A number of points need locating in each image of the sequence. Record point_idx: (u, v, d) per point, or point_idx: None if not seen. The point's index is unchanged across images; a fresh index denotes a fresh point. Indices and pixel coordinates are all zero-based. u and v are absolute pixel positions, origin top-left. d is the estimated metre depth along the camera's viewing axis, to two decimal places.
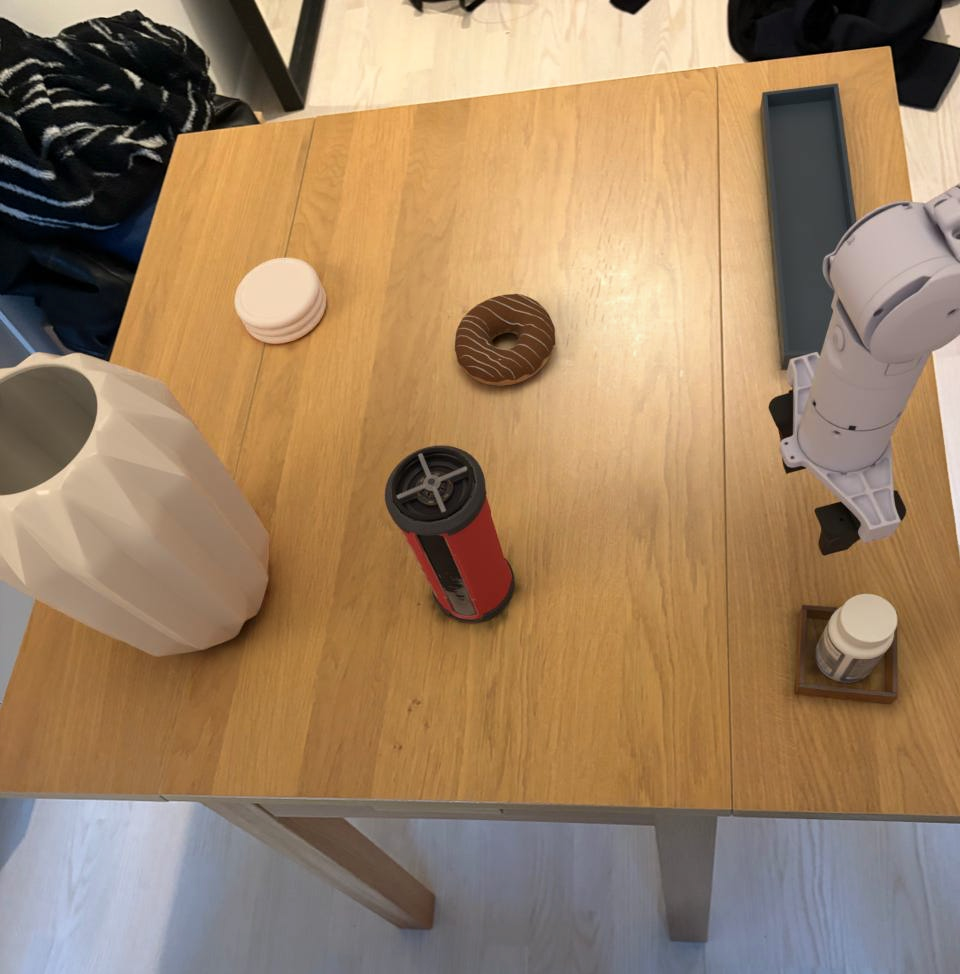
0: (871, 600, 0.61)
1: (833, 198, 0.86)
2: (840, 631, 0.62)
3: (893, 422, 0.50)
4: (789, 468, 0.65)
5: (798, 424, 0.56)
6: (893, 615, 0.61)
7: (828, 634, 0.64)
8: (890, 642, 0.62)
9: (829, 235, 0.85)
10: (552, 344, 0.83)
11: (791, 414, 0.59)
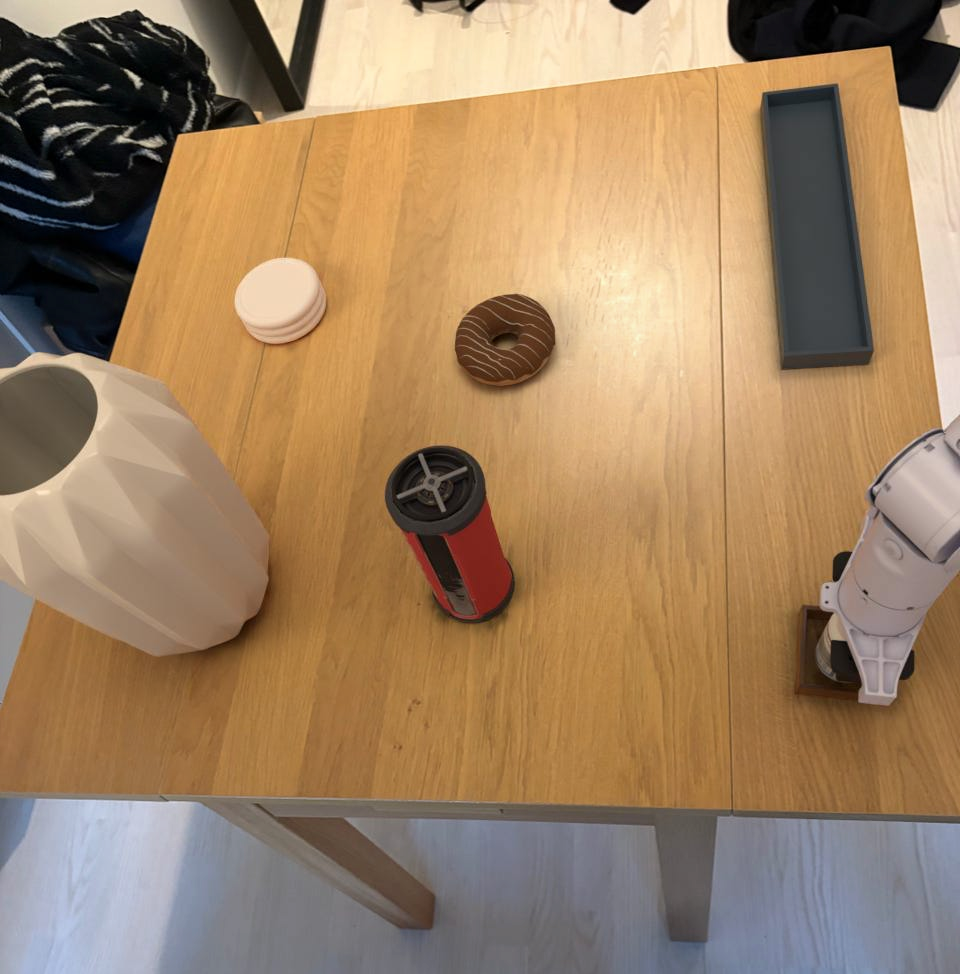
0: None
1: (833, 198, 0.86)
2: (840, 631, 0.62)
3: (918, 609, 0.53)
4: None
5: (846, 573, 0.59)
6: None
7: (828, 634, 0.64)
8: None
9: (829, 235, 0.85)
10: (552, 344, 0.83)
11: None
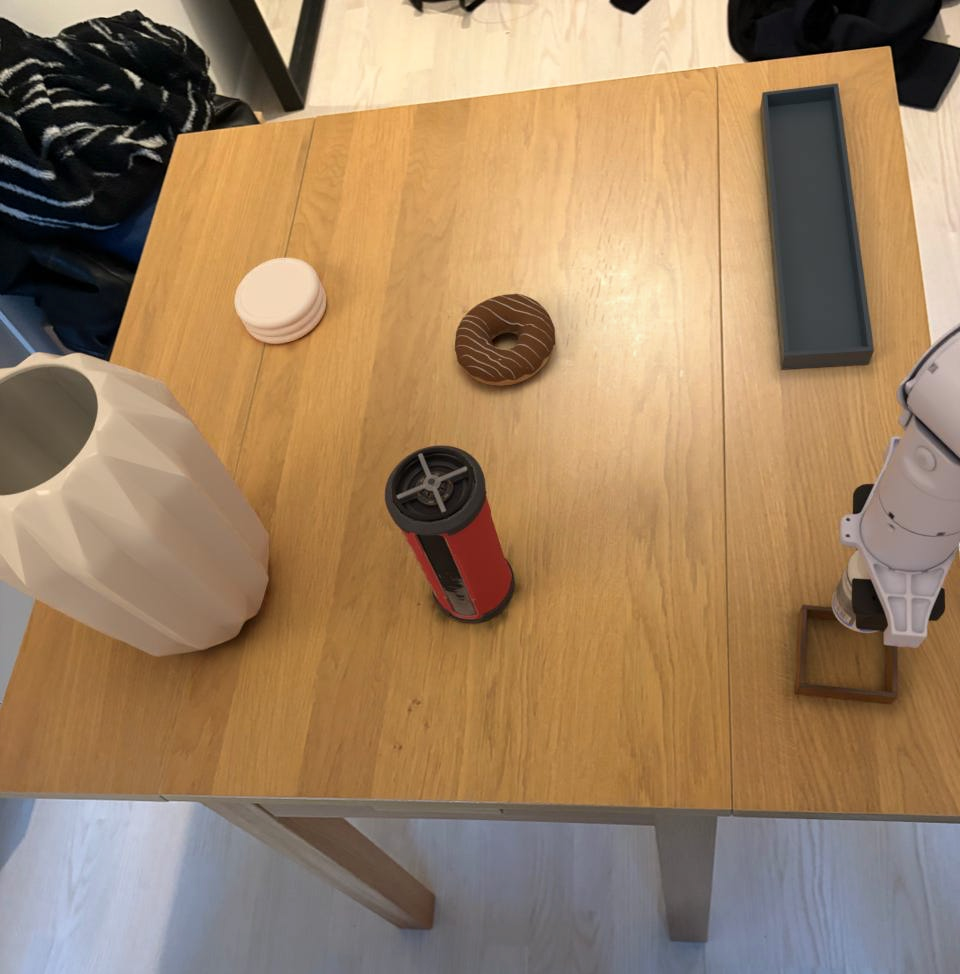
0: None
1: (833, 198, 0.86)
2: (861, 571, 0.56)
3: (952, 535, 0.47)
4: None
5: (869, 504, 0.54)
6: None
7: (847, 576, 0.58)
8: None
9: (829, 235, 0.85)
10: (552, 344, 0.83)
11: None
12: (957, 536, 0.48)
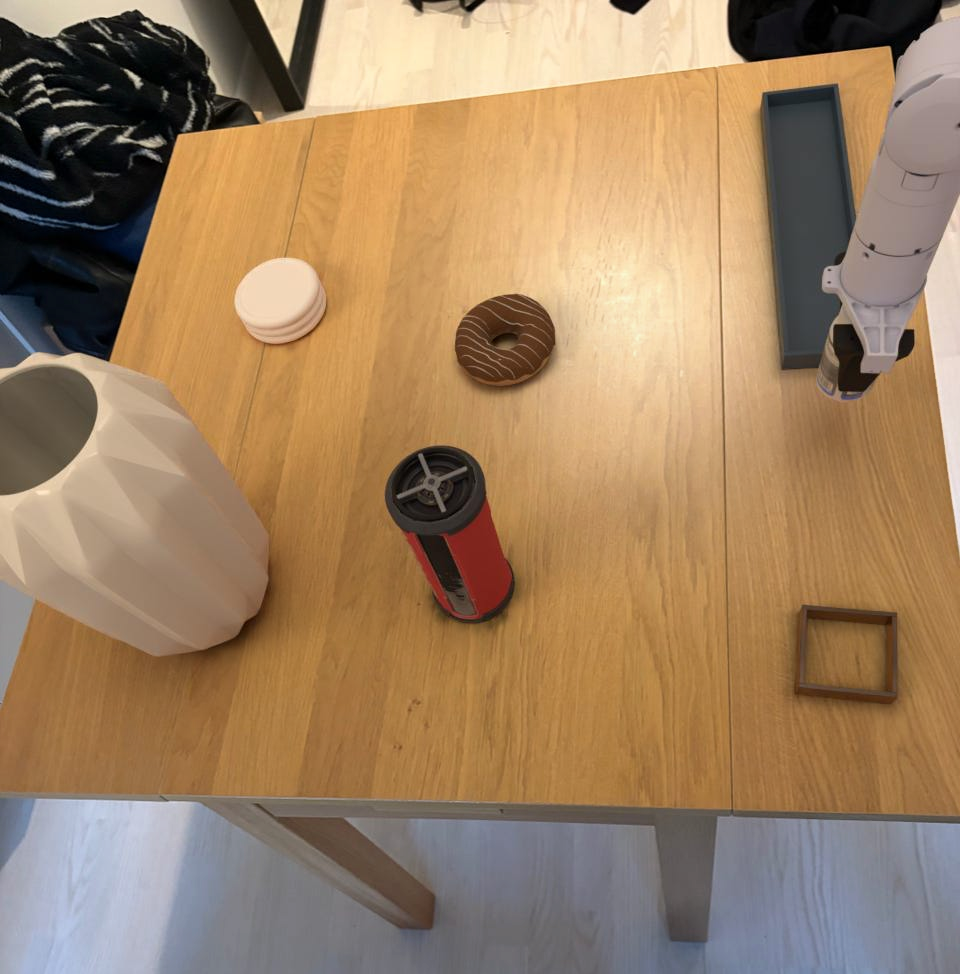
0: None
1: (833, 198, 0.86)
2: None
3: (918, 256, 0.55)
4: None
5: None
6: None
7: (829, 339, 0.66)
8: None
9: (829, 235, 0.85)
10: (552, 344, 0.83)
11: None
12: (922, 258, 0.55)
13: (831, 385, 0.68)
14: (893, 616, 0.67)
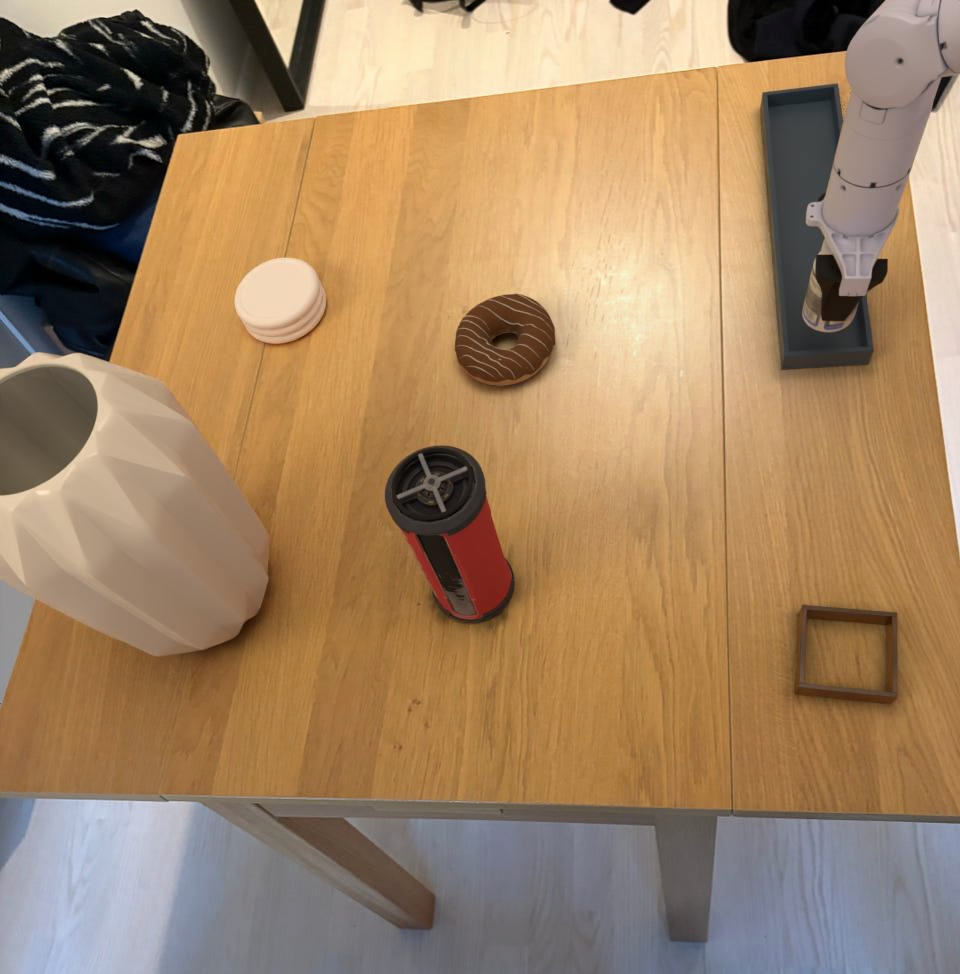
0: None
1: None
2: None
3: (888, 187, 0.62)
4: None
5: None
6: None
7: (813, 271, 0.73)
8: None
9: None
10: (552, 344, 0.83)
11: None
12: (892, 190, 0.63)
13: (815, 316, 0.76)
14: (893, 616, 0.67)
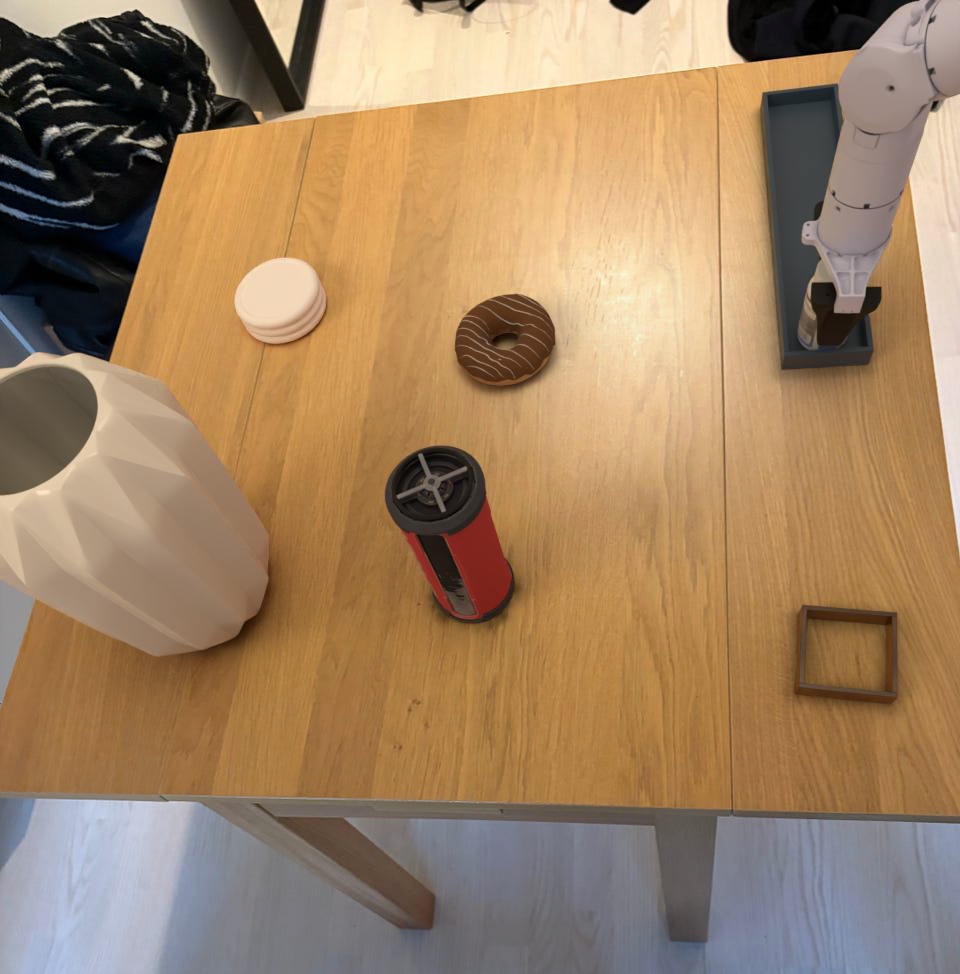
0: None
1: None
2: None
3: (882, 208, 0.64)
4: None
5: None
6: None
7: (807, 295, 0.75)
8: None
9: None
10: (552, 344, 0.83)
11: None
12: (886, 211, 0.64)
13: (809, 337, 0.78)
14: (893, 616, 0.67)
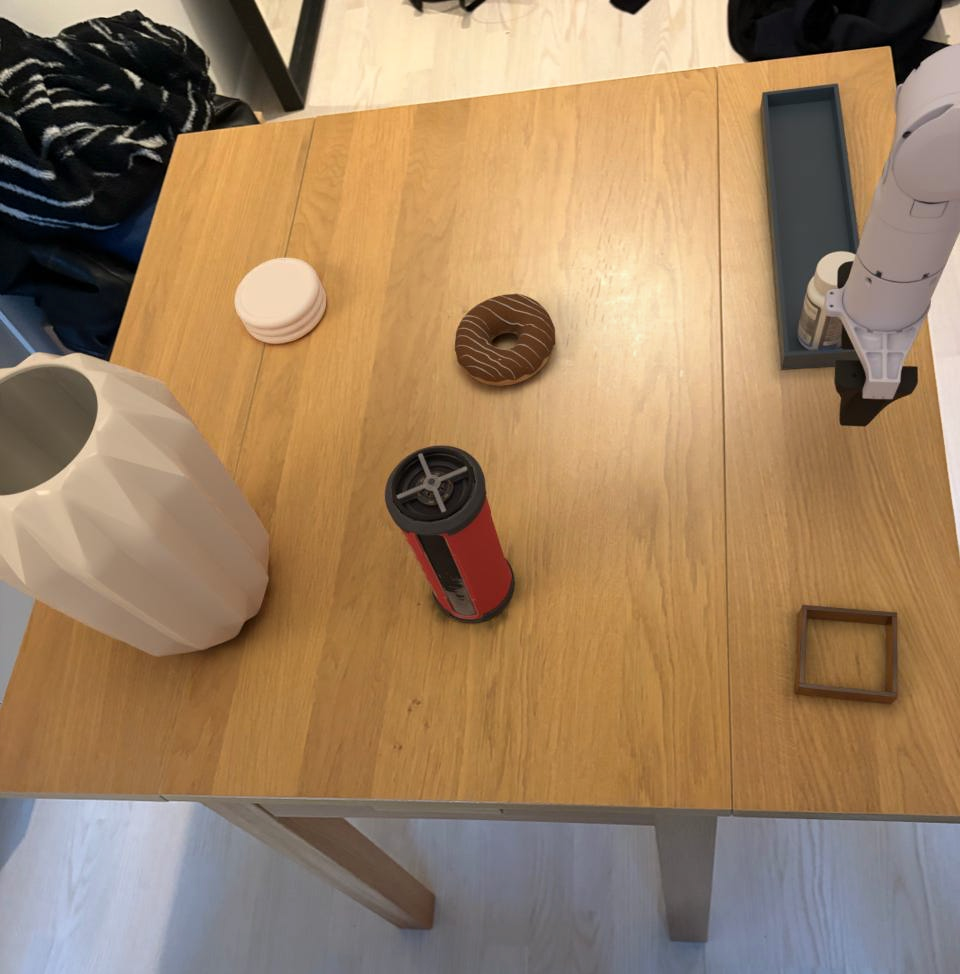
0: (842, 255, 0.73)
1: (833, 198, 0.86)
2: (816, 284, 0.74)
3: (922, 282, 0.54)
4: (845, 343, 0.68)
5: None
6: None
7: (807, 295, 0.75)
8: None
9: (829, 235, 0.85)
10: (552, 344, 0.83)
11: None
12: (926, 284, 0.54)
13: (809, 337, 0.78)
14: (893, 616, 0.67)
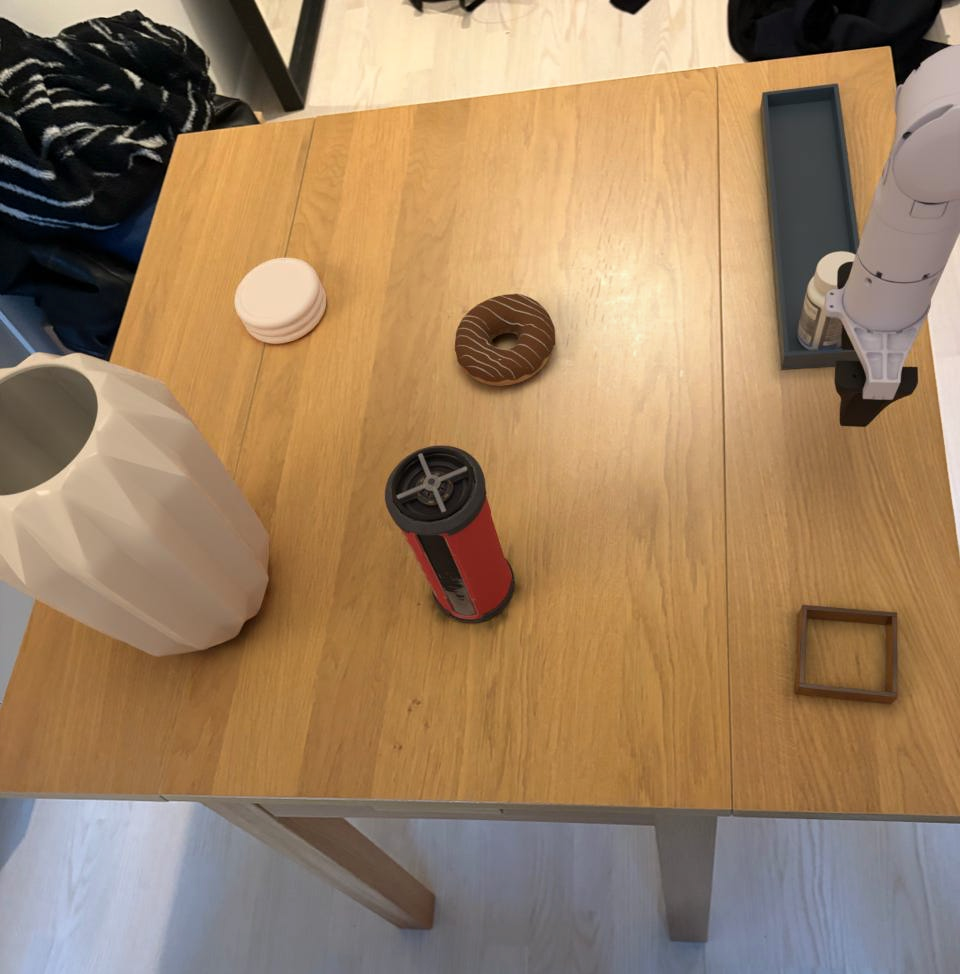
0: (842, 255, 0.73)
1: (833, 198, 0.86)
2: (816, 284, 0.74)
3: (922, 282, 0.54)
4: (845, 344, 0.68)
5: None
6: None
7: (807, 295, 0.75)
8: None
9: (829, 235, 0.85)
10: (552, 344, 0.83)
11: None
12: (926, 285, 0.54)
13: (809, 337, 0.78)
14: (893, 616, 0.67)
